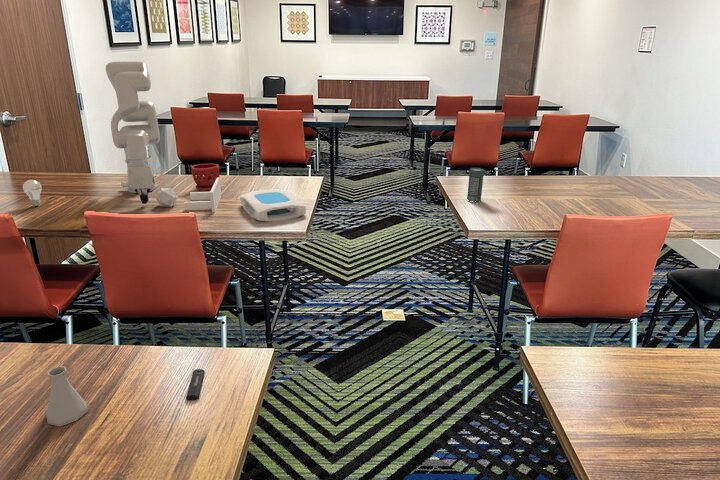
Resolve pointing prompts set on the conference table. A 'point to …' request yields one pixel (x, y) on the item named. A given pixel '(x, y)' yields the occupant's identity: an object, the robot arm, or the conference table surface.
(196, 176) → the plant pot
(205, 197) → the two-post plank stand
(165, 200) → the die
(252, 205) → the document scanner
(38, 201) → the light bulb
